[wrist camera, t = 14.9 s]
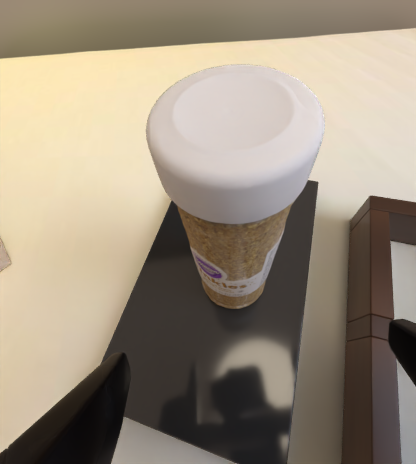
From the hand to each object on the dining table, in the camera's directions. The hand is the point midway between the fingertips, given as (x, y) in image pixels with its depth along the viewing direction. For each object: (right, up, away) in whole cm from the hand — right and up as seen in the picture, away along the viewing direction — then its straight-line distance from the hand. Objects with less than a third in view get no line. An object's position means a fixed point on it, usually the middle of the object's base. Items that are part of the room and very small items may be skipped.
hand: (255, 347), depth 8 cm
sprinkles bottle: (0, 0, +10) cm, 10 cm away
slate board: (-1, 0, +11) cm, 11 cm away
